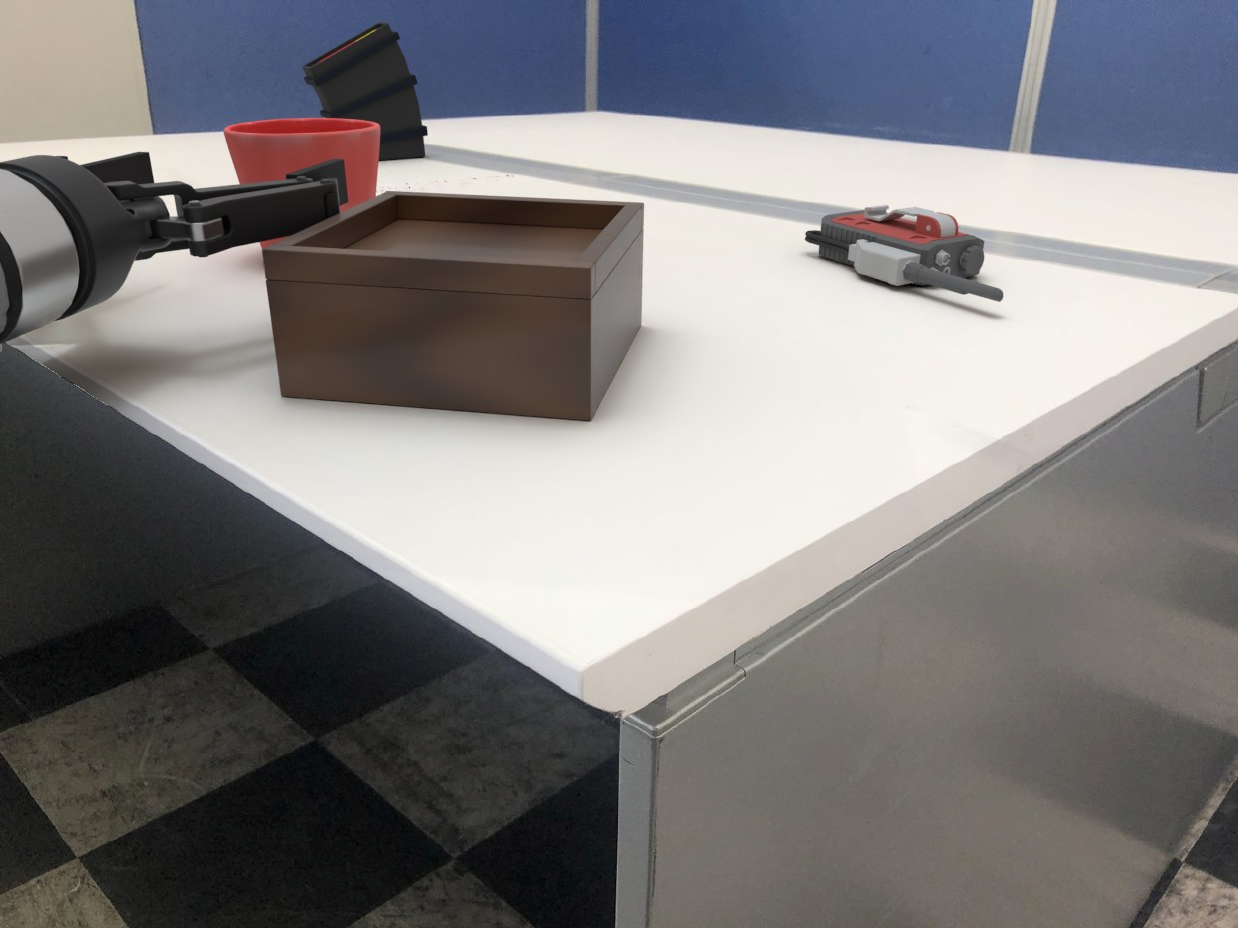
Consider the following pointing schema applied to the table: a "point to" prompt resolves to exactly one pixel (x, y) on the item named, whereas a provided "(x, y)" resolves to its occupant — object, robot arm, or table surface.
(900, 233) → the walkie-talkie
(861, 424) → the table surface
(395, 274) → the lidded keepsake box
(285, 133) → the flower pot
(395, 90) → the magazine
